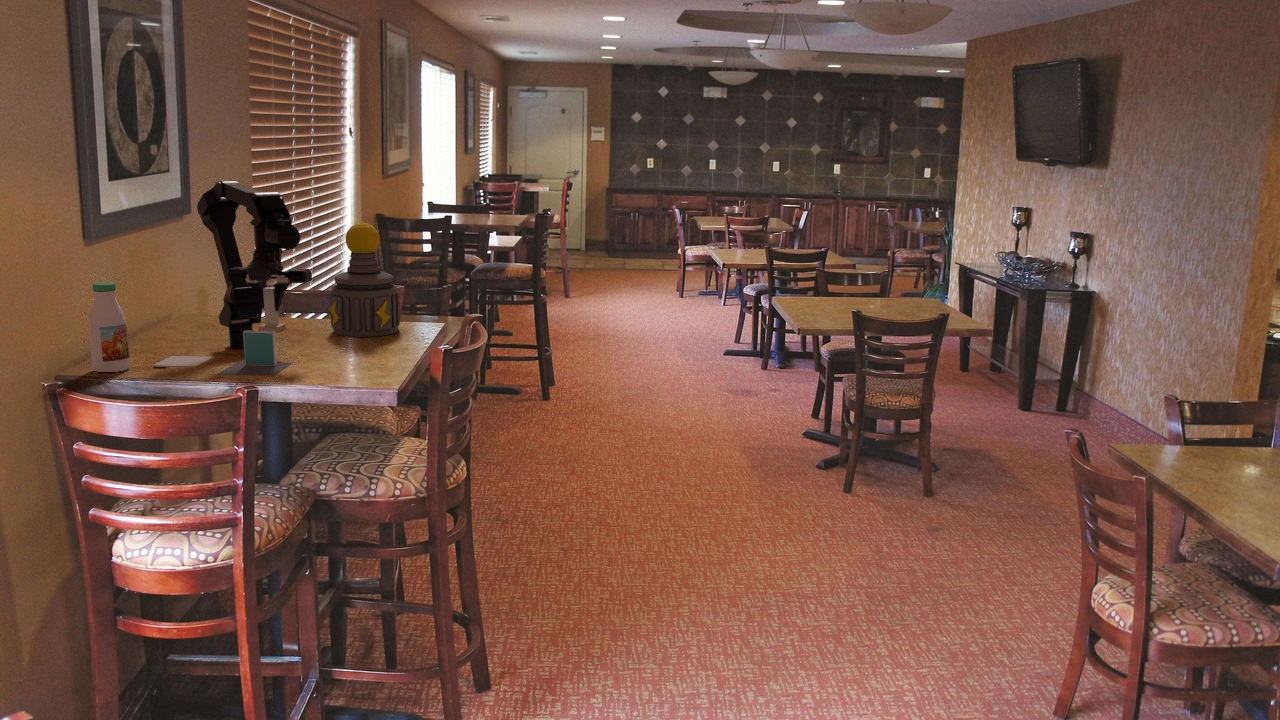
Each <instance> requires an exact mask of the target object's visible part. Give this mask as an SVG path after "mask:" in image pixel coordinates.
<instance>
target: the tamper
mask: <svg viewBox="0 0 1280 720" xmlns="http://www.w3.org/2000/svg"><path fill="white" fill-rule="evenodd" d="M263 294H264V309H263V311H264V323H263V324H261V325H258V331H276V334H281V333H283V332H284V331H286V323H279V321H280V320H279V310H278V311H276V310H275V287H274V286H273V287H272V286H271V287H269V286H267V287H266V288H264V289H263Z"/></svg>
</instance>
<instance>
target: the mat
mask: <svg viewBox="0 0 1280 720" xmlns="http://www.w3.org/2000/svg"><path fill="white" fill-rule="evenodd" d="M292 364H293V362H287V361H286V362H285V361H284V362H282V361H281V362H280V361H279V362H278V361H277V365H276V366H253V365H245V361H237V362H235V363H234V364H231V365H229V366H228V367H227V368H225V369H223V370H222V371H220V372H218V373H217V375H219V376H220V375H224V376H225V375H227V376H266V377H267V376H268V377H269V376H271V377H272V376H276V375H278V374H279V373H281V372H282V371H284V370H285V369H286V368H288V367H289V366H291V365H292Z"/></svg>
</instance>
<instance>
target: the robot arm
mask: <svg viewBox="0 0 1280 720" xmlns="http://www.w3.org/2000/svg"><path fill="white" fill-rule="evenodd" d="M240 206H243V207H245V209H246V211H245V212H247V213H248V214H249V215H250V216H251V217H252V218H253V219H251V220H250V225H251V226H253V233H254V250H253V253H252V255H253V256H252V260H250V262H249V264H248V265H247V266H243V262H242V259H241V255H240V251H239V248H238V244H237V240H236V236H235V232H234V229H233V228H234V225H235V222H236V219H237V211H238V209H239V207H240ZM196 209H197V213H198V215H199V217H200V218H201V221H202V224H203V225H204V226H205V227H206V228H207V229H208V230H209V232H211V233H212V236H213V240H214V244H215V248H216V251H217V255H218V258H219V262H220V265H221V270H222V273H223V277H224V282H225V285H226V289H225V290H226V291H225V293H224V296H223V299H222V300H223V306H222V309H221V310H220V313H219V315H218V320H219V321H218V322H219V324H220V326H224V327H227V328H228V339H229V345H227V346H225V347H224V350H244V339H243V331H245V330H250V331H254V327H253V324H261V322H262V315H263V310H264V294H263V289H264V288H266V287H268V285H267V282H268V281H270V280H272V279H274V280H276V281H277V282H275V283H274V284H273V287H275V310H276V311H278V312H279V310H280V308H281V304H282V301H283V300H284V296H285V293H286V291H287V290H288V287H289V286H290V285H292V284H307V283H308V282H310V281H312V280H313V275H312V274H313V273H312V270H311V269H310V268H306V267H305V268H304V267H303V268H302V267H301V268H297V267H294V268H291V269H290V270H288V271H285V270H284V266H283V264H282V254H283V250H287V251H291V250H294V249H295V248H297V247H298V245H299V244H300V241H301V234H300V231H299V229H298V228H297V227H296V226H294V225H292V224H293V223H292V218H291V213H290V211H289V208H288V207H287V206H286V203H285V201H284V198H283V197H282V195H281V194H280V193H279V192H277V191H258V190H256V189H254V188H251V187H250V186H246V185H245V184H242V183H240V182H239V181H236V180H220V181H217V182H216V183H215V185H214V186H213V187H212V188H211V189H208V190H207V191H206V192H204V193H203V194H202V195H201V197H200V199H199V200H198V202H197V205H196Z"/></svg>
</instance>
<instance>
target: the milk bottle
mask: <svg viewBox="0 0 1280 720" xmlns="http://www.w3.org/2000/svg"><path fill="white" fill-rule="evenodd" d="M116 290H117V289H116V283H115V282H110V281H109V282H108V281H107V282H106V281H105V282H104V281H103V282H102V281H101V282H95V283H93V284H92V292H93V295H94V300H93V304H92V307H91V308H90V312H89V315H88V335H89V346H90V347H89V348H90V354H91V355H90V356H91V366H92V367H91V368H92V370H93V372H94V371H98V372H115V373H120V372H119V371H121V372H125V371H128V370H130V368H131V359H130V346H129V335H128V327H127V319H126V316H125V313H124V311H123V308H122V306H120V304H119V302H118V300H117V297H116V293H117V291H116ZM127 369H128V370H127ZM124 370H125V371H124ZM98 372H97V373H98Z"/></svg>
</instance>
